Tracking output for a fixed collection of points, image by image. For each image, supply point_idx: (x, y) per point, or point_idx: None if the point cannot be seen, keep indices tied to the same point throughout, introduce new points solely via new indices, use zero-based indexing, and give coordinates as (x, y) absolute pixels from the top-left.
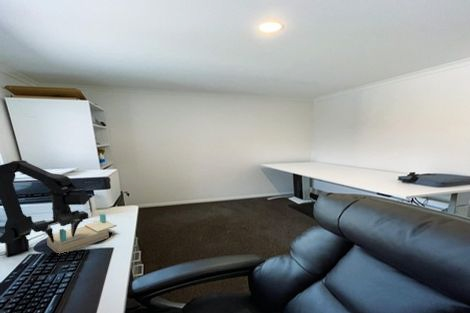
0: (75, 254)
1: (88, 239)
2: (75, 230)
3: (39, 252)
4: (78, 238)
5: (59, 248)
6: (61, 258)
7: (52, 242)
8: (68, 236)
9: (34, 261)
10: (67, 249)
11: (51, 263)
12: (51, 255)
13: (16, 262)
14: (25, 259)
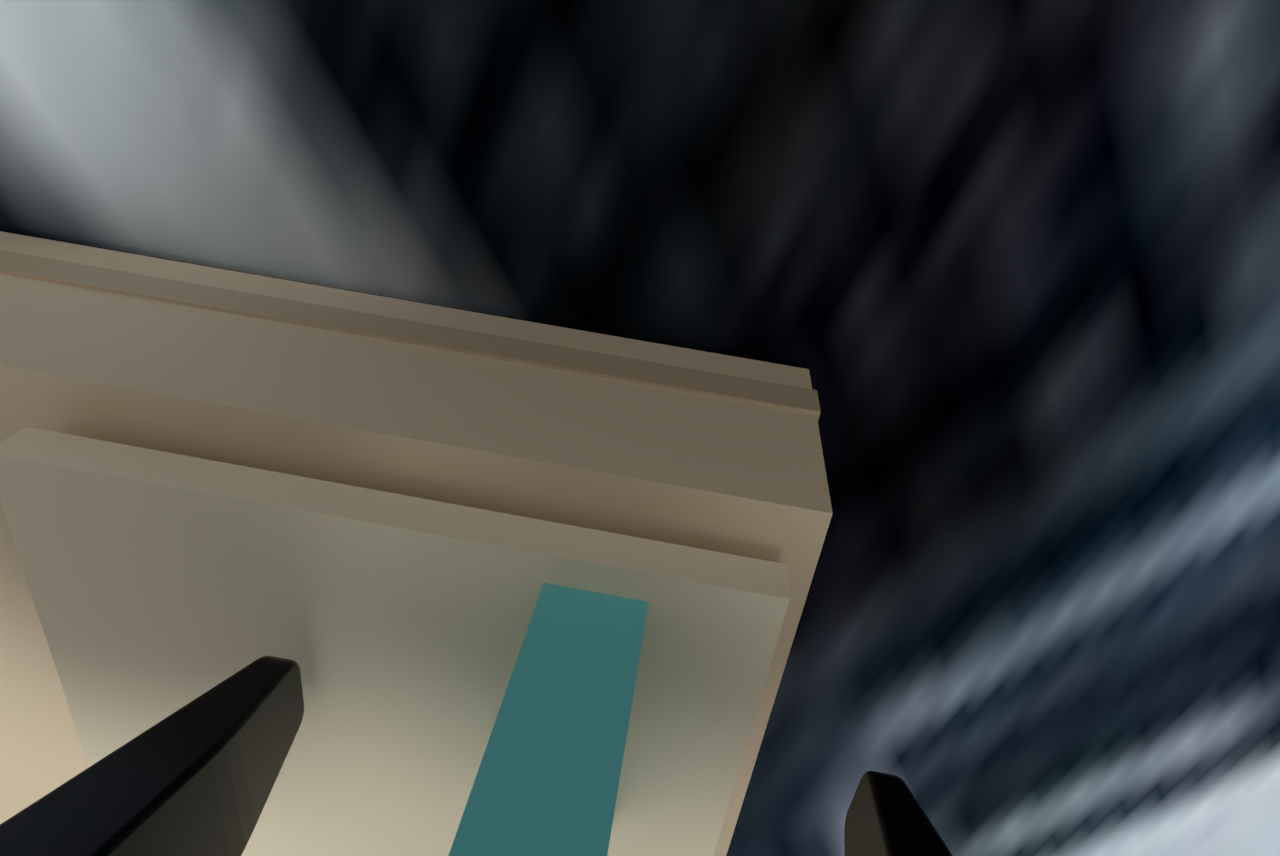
0: (576, 5)
1: (14, 308)
2: (29, 821)
3: None
4: (203, 463)
5: (810, 463)
6: (885, 150)
7: (907, 795)
8: (377, 800)
9: (1169, 595)
10: (619, 370)
11: (1183, 99)
12: (865, 542)
13: (1260, 823)
14: (1134, 798)
